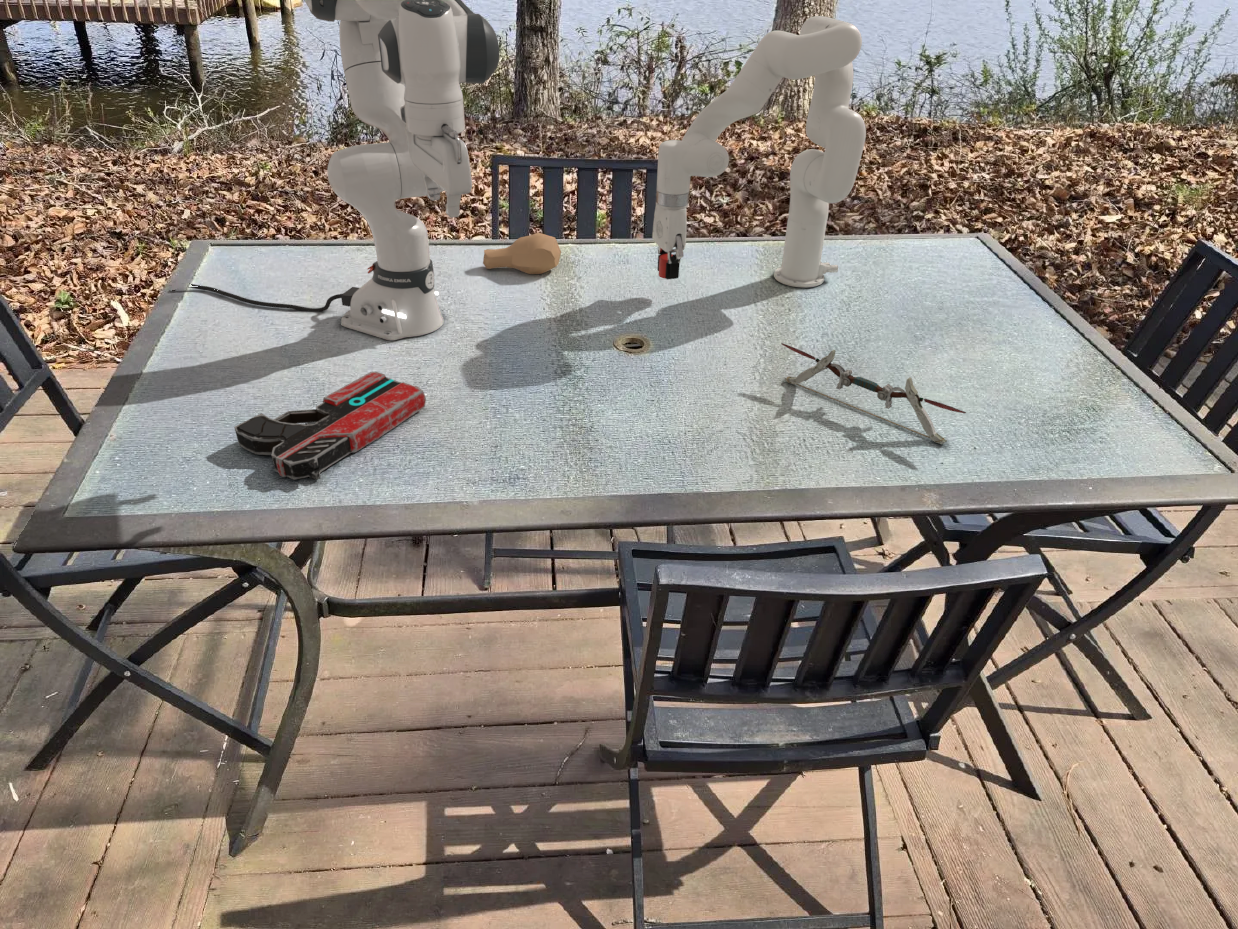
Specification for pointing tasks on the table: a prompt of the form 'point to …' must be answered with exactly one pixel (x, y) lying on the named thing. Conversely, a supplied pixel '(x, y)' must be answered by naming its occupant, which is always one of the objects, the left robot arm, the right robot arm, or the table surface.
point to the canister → (663, 265)
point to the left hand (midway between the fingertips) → (443, 207)
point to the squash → (526, 254)
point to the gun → (331, 425)
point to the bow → (883, 393)
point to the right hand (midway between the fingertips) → (667, 273)
